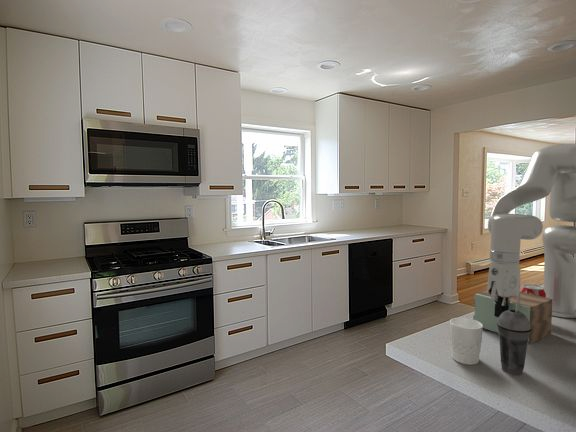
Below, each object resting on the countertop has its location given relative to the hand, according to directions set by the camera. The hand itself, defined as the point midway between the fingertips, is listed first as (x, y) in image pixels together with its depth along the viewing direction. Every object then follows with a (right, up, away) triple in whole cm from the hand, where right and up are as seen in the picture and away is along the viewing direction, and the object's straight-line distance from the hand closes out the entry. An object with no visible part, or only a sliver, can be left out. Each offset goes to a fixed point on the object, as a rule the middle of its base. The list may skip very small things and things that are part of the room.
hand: (501, 317), depth 106 cm
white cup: (-16, -8, -11) cm, 21 cm away
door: (+1, -6, +4) cm, 7 cm away
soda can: (+19, -6, +14) cm, 24 cm away
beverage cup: (-8, -9, -17) cm, 21 cm away
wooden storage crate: (+8, -6, +8) cm, 13 cm away
